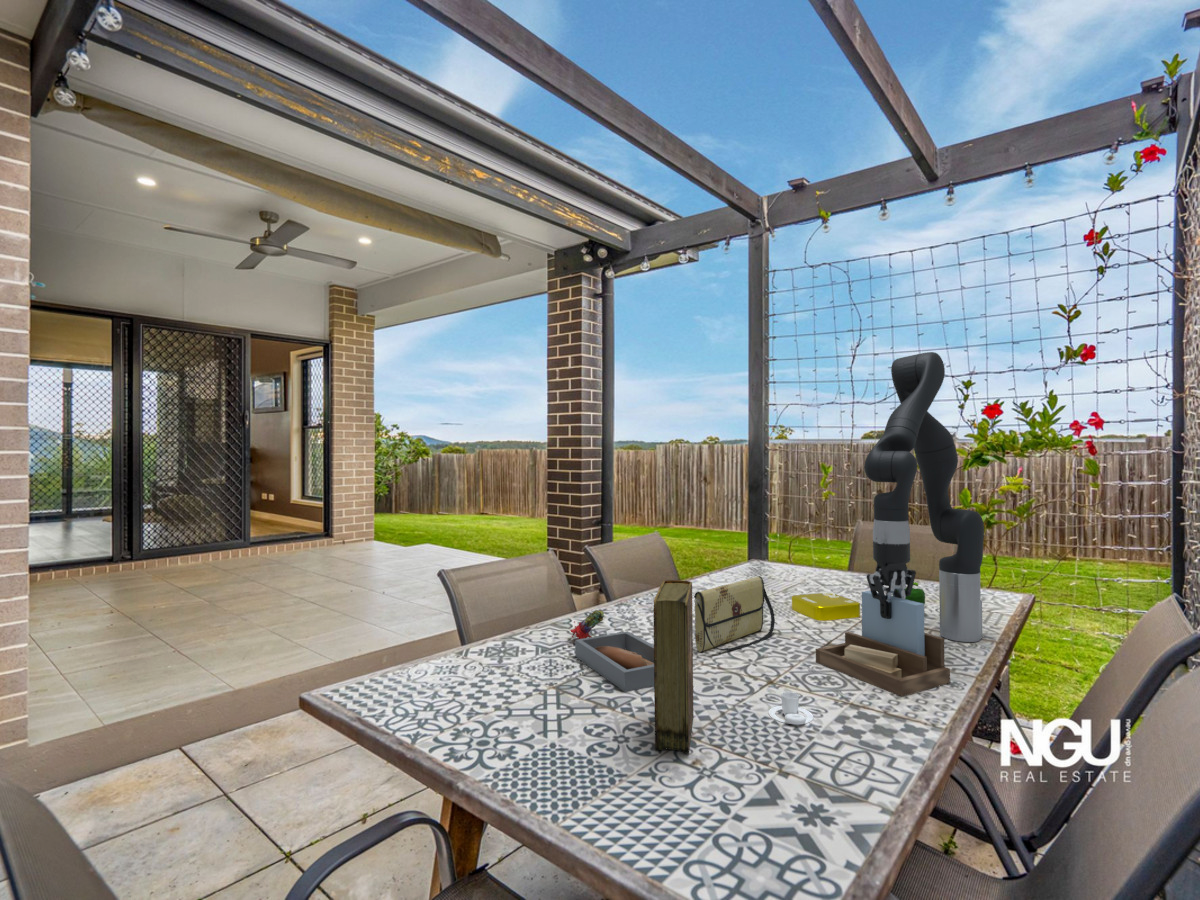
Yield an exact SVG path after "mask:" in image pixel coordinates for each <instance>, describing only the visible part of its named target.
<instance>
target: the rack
mask: <svg viewBox="0 0 1200 900" xmlns="http://www.w3.org/2000/svg"><path fill="white" fill-rule="evenodd" d="M924 642H925V656H922V655H919V654H916V653H913V652H910V651H907V650H904V649H901V648H898V647H895V646H891V645H888V644H885V643H882V642H879V641H876V640H873V639H870V638H867V637H864V636H862V635H860V634H857V633H854V632H852V631H851V632H850V631H845V632H844V642H842V643H838V644H834V645H828V646H824V647H819V648H815V663H817V664H819V665H823V666H825V667H827V668H829V669H832V670H835V671H838V672H840V673H842V674H844V675H847V676H850V677H852V678H855V679H857V680H860V681H863V682H865V683H867V684H870V685H872V686H874V687H877V688H880V689H883V690H885V691H888V692H890V693H893V694H895V695H897V696H899V697H905V696H909V695H912V694H915V693H919V692H922V691H926V690H930V689H933V688H937V687H940V686H939V685H941V686H944V685H947V683H948V684H950V683H951V668H950V667H946V666H945V638H944V637H942V636H941V637H940V636H936V635H935V634H934V635H933V634H929V633H926V632H924ZM849 645H855V646H860V647H865V648H870V649H875V650H879V651H884V652H889V653H894V654H898V666H897V667H896V668H899V669H902V678H898V677H895V676H893V675H890V674H887V673H885V672H882V671H879V670H877V669H874V668H871V667H869V666H866V665H863V664H860V663H858V662H855V661H852V660H850V659H847V658H844V657H842V656H845V648H846V647H848V646H849ZM943 684H944V685H943ZM936 686H937V687H936Z"/></svg>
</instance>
